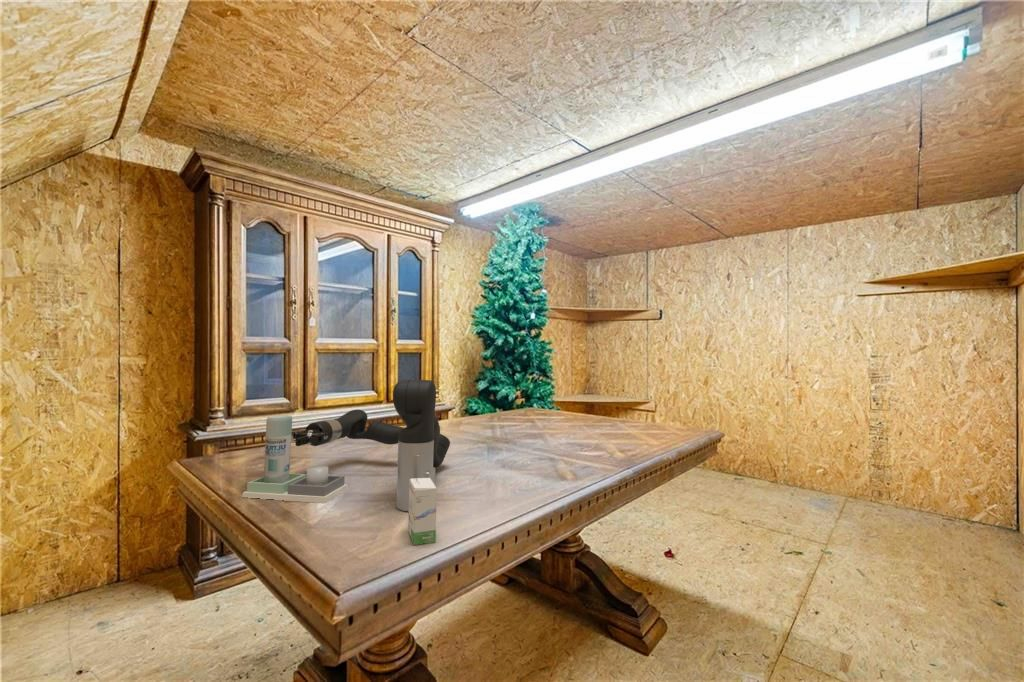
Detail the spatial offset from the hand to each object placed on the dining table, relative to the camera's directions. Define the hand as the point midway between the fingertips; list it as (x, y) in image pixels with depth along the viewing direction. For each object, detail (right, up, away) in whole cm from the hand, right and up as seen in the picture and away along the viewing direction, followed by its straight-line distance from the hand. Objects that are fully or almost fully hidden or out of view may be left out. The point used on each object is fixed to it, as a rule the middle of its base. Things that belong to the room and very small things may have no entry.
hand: (284, 441), depth 126 cm
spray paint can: (-1, -12, -4) cm, 13 cm away
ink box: (+47, -14, -31) cm, 58 cm away
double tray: (+6, -14, -4) cm, 15 cm away
